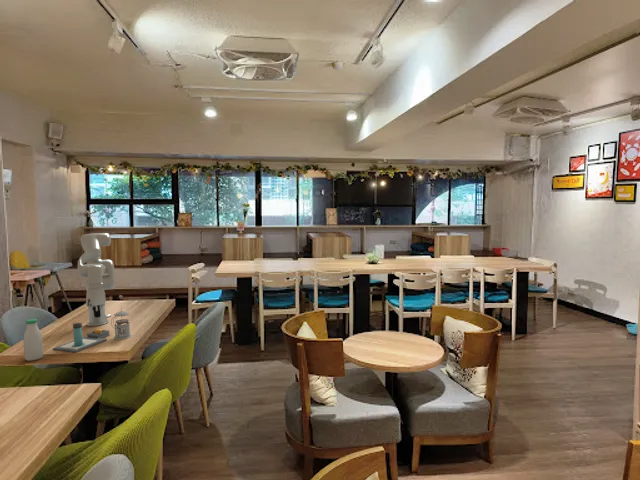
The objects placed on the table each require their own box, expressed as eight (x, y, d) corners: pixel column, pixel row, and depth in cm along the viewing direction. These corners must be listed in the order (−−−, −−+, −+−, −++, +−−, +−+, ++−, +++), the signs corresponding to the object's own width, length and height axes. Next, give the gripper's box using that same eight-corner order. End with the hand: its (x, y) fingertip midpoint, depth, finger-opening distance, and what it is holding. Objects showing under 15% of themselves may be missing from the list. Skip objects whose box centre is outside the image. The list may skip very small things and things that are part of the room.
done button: (98, 333, 241) (98, 328, 241) (103, 333, 240) (103, 328, 240) (93, 335, 237) (92, 330, 237) (98, 335, 236) (98, 330, 236)
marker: (79, 343, 224) (77, 322, 223) (84, 344, 223) (83, 322, 222) (72, 346, 220) (70, 324, 219) (78, 346, 219) (76, 325, 218)
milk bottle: (47, 356, 208) (44, 318, 206) (32, 361, 201) (29, 322, 199) (36, 354, 211) (33, 317, 209) (21, 360, 203) (18, 321, 202)
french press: (124, 340, 233) (122, 297, 230) (106, 338, 235) (104, 296, 233) (135, 334, 242) (133, 293, 240) (118, 333, 244) (116, 293, 242)
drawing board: (84, 338, 237) (84, 336, 237) (106, 340, 232) (106, 338, 232) (53, 349, 218) (53, 347, 218) (76, 352, 213) (75, 350, 213)
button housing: (98, 334, 244) (98, 329, 243) (109, 335, 241) (109, 330, 241) (87, 338, 236) (87, 333, 236) (98, 339, 234) (98, 334, 233)
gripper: (101, 284, 244) (102, 313, 245) (79, 288, 230) (81, 320, 231) (110, 284, 242) (112, 314, 243) (89, 288, 228) (91, 320, 229)
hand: (97, 317), depth 237 cm, fingers closed
